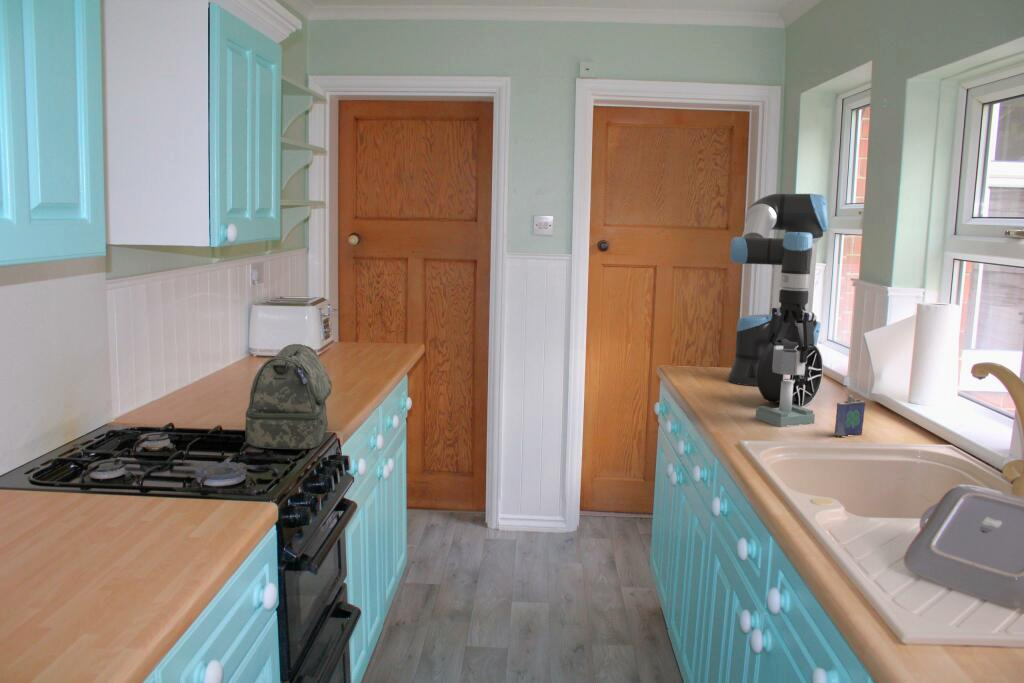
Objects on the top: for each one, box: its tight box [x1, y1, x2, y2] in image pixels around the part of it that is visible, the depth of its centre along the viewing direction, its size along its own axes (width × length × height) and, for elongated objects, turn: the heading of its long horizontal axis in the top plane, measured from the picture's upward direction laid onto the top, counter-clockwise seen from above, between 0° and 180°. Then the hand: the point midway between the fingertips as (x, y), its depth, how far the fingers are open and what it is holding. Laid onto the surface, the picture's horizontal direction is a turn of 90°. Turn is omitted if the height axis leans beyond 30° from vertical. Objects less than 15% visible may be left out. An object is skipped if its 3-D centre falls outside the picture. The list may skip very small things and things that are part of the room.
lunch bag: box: [245, 343, 333, 450], centre depth 203 cm, size 26×18×22 cm
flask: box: [833, 394, 866, 436], centre depth 221 cm, size 9×3×11 cm, turn 117°
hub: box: [773, 349, 803, 376], centre depth 233 cm, size 8×8×6 cm
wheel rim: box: [757, 338, 824, 408], centre depth 255 cm, size 20×9×20 cm, turn 127°
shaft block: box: [754, 381, 816, 427], centre depth 235 cm, size 12×10×11 cm
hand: (788, 371), depth 233 cm, fingers closed on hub, 8 cm apart
